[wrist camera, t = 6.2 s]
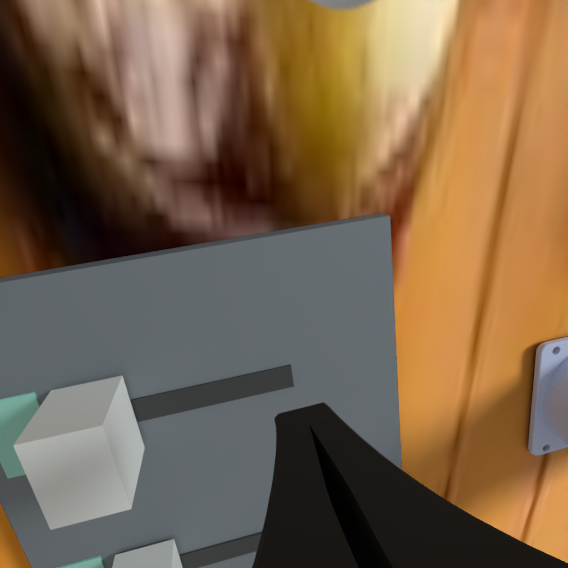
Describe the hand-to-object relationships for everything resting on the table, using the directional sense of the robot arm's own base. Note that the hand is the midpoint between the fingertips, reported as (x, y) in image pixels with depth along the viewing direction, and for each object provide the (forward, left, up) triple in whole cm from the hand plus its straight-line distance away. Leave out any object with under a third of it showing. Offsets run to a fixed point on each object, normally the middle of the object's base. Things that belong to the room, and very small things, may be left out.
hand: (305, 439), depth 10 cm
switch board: (+4, +8, -9) cm, 13 cm away
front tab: (+8, +3, -8) cm, 12 cm away
